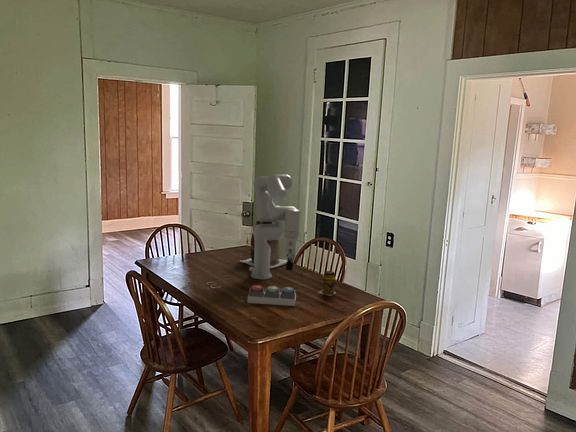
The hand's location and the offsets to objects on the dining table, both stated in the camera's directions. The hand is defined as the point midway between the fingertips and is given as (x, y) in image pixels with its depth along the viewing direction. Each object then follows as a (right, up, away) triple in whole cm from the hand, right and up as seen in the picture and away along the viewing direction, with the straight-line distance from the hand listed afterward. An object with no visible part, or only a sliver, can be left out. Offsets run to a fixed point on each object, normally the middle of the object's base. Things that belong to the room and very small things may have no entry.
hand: (289, 267), depth 240 cm
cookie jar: (-16, -5, +72) cm, 74 cm away
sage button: (-9, -13, +3) cm, 16 cm away
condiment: (+21, -16, +20) cm, 33 cm away
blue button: (-1, -13, +2) cm, 13 cm away
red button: (-17, -12, +3) cm, 21 cm away
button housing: (-9, -17, +3) cm, 20 cm away
